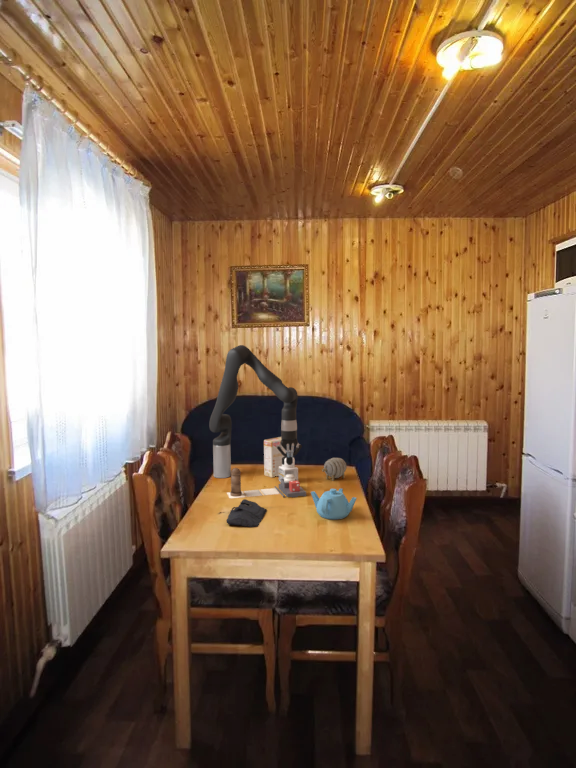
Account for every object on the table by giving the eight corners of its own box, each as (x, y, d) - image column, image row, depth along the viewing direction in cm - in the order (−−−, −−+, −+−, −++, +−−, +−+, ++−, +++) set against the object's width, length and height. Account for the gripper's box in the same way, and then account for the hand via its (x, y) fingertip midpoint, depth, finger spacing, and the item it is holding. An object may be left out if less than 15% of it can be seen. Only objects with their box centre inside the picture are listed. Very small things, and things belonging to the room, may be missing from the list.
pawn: (229, 493, 226) (229, 467, 225) (240, 492, 227) (240, 466, 226) (231, 496, 221) (230, 469, 220) (242, 495, 222) (242, 468, 221)
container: (278, 480, 251) (278, 456, 249) (291, 478, 254) (291, 454, 253) (284, 484, 244) (284, 459, 242) (298, 482, 247) (298, 457, 246)
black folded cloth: (219, 527, 189) (219, 515, 188) (233, 508, 210) (233, 497, 210) (258, 529, 187) (258, 517, 186) (268, 509, 208) (268, 499, 208)
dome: (282, 481, 237) (282, 474, 237) (293, 480, 239) (293, 473, 238) (285, 485, 232) (285, 477, 231) (296, 484, 233) (296, 476, 233)
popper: (278, 488, 238) (278, 475, 237) (296, 486, 240) (296, 474, 240) (287, 497, 223) (287, 485, 222) (306, 496, 225) (306, 483, 225)
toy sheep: (352, 477, 255) (352, 457, 254) (331, 484, 244) (331, 462, 243) (337, 473, 263) (337, 453, 262) (316, 480, 251) (316, 459, 251)
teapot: (309, 510, 206) (309, 485, 205) (341, 506, 211) (342, 482, 210) (322, 523, 192) (322, 496, 191) (357, 518, 196) (357, 492, 195)
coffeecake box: (284, 470, 271) (284, 435, 270) (293, 472, 266) (293, 437, 264) (263, 475, 262) (263, 439, 260) (271, 477, 256) (271, 441, 255)
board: (222, 493, 231) (222, 490, 230) (275, 488, 238) (275, 485, 238) (228, 503, 215) (228, 501, 215) (284, 498, 222) (284, 495, 222)
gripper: (299, 427, 238) (300, 461, 239) (273, 428, 235) (274, 463, 236) (304, 429, 231) (304, 465, 232) (277, 431, 227) (278, 467, 229)
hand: (289, 464), depth 234 cm, fingers closed
